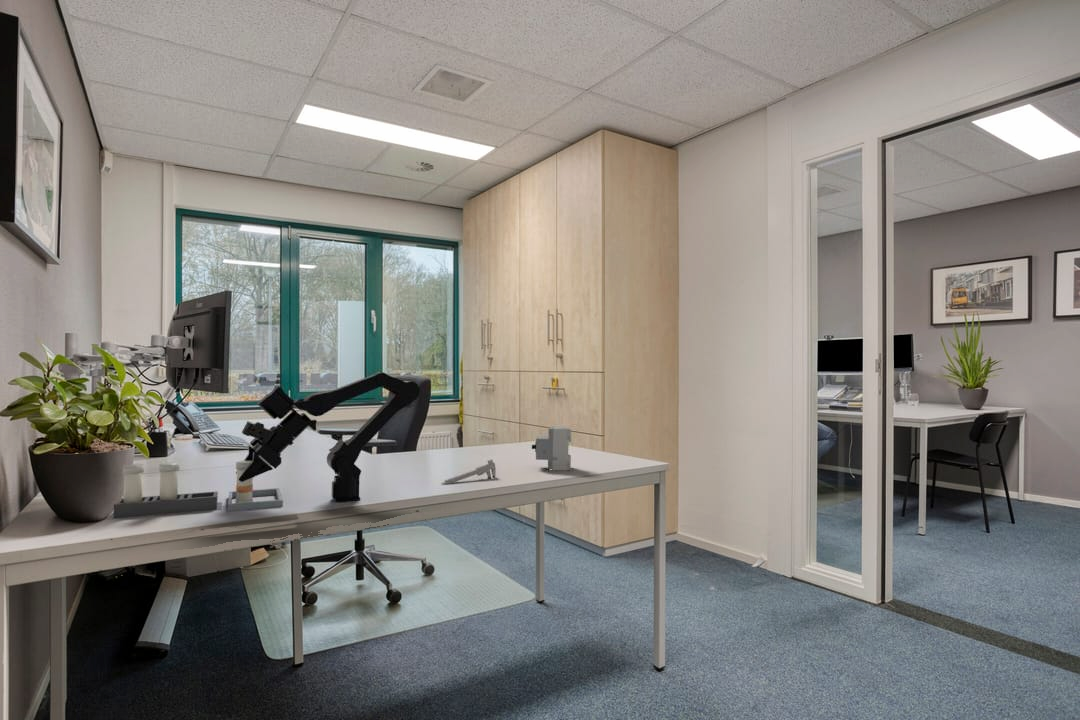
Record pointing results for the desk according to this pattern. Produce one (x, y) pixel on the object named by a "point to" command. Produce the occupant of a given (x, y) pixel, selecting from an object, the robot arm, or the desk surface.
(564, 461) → the circuit breaker
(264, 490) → the parts tray
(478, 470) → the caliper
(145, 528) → the desk surface
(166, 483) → the block
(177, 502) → the grey slotted rack
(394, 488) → the desk surface
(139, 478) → the fuse
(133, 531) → the desk surface
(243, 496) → the marked fuse
